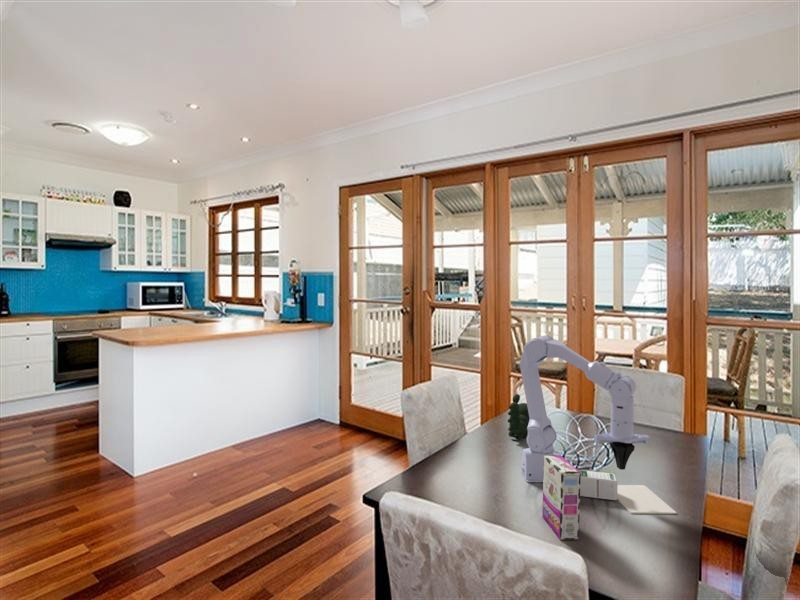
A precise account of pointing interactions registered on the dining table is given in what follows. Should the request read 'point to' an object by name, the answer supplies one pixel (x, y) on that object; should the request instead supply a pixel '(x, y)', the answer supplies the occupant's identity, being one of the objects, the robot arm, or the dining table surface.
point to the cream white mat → (641, 500)
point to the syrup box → (598, 484)
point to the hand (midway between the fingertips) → (620, 468)
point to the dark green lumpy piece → (518, 418)
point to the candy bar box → (561, 497)
